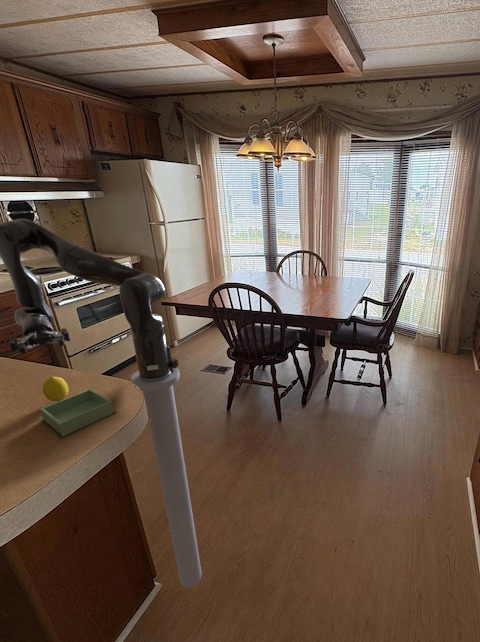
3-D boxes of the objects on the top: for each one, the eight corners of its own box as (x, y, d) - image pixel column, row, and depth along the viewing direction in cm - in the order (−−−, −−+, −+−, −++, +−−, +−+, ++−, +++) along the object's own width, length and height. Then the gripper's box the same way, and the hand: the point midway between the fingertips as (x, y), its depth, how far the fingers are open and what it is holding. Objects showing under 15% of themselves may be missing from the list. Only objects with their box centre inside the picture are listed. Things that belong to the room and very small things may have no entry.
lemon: (49, 398, 98) (41, 374, 95) (72, 394, 101) (65, 370, 98) (45, 408, 94) (36, 383, 91) (69, 404, 96) (62, 379, 93)
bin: (93, 399, 99) (90, 388, 97) (114, 412, 93) (111, 401, 92) (43, 420, 89) (39, 408, 88) (63, 436, 84) (59, 424, 82)
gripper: (5, 324, 105) (6, 341, 94) (62, 315, 114) (69, 330, 103) (12, 346, 108) (14, 365, 97) (67, 336, 117) (75, 352, 106)
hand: (42, 347), depth 100 cm, fingers open, 8 cm apart
